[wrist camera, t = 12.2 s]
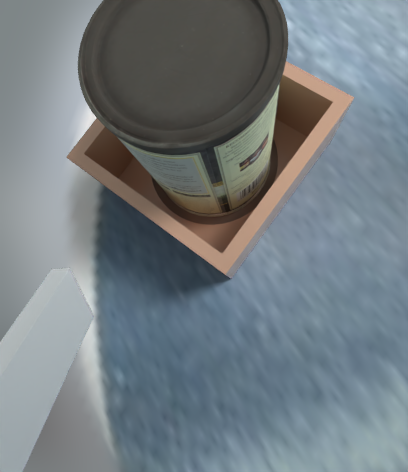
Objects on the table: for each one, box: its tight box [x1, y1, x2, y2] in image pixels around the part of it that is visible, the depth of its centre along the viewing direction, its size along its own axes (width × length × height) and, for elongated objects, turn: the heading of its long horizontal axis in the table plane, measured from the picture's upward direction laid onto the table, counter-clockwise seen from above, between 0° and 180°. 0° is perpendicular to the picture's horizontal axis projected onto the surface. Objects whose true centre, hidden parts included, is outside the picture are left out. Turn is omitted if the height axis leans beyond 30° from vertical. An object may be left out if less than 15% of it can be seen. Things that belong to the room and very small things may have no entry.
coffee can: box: [78, 0, 288, 217], centre depth 22 cm, size 10×10×14 cm
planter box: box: [67, 62, 354, 279], centre depth 26 cm, size 15×15×6 cm
